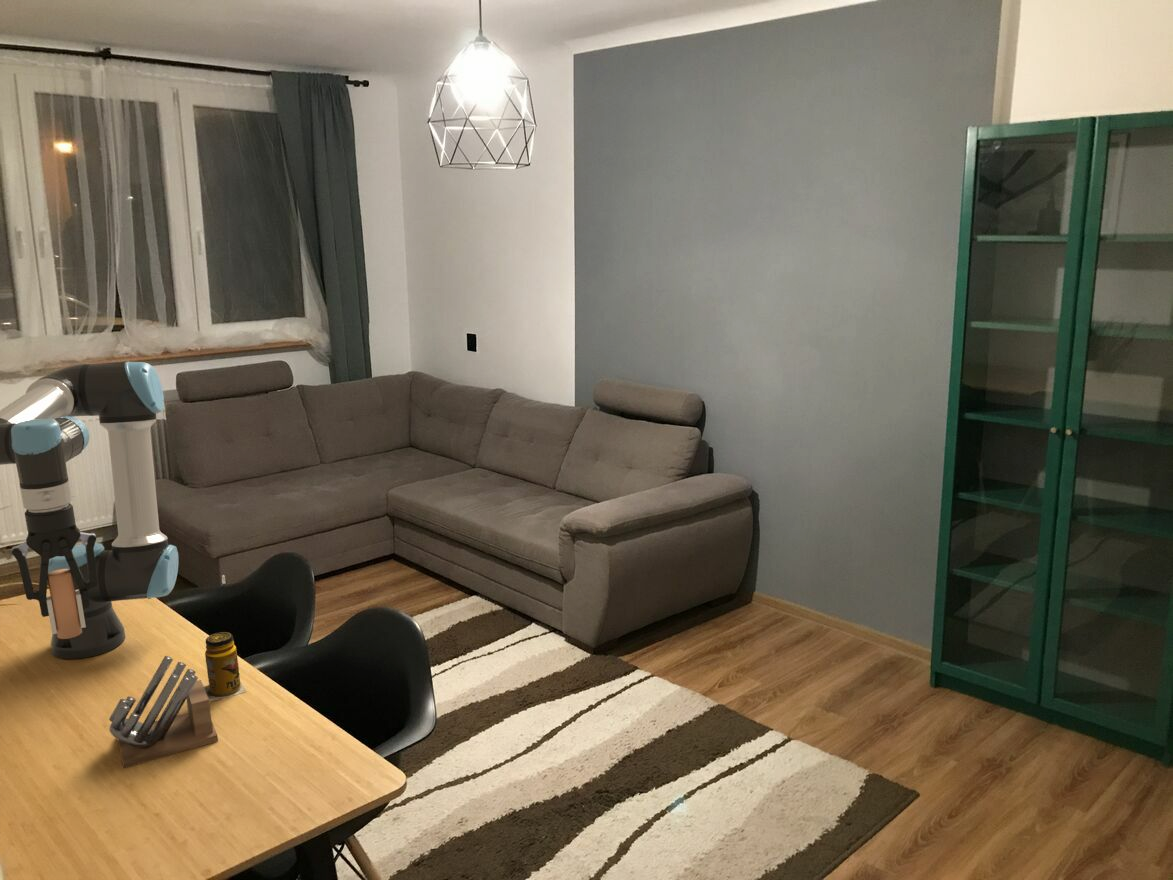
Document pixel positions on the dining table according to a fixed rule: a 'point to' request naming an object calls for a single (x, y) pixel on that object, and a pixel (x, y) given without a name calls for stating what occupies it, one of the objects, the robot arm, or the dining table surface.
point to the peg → (64, 603)
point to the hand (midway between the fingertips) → (68, 627)
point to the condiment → (222, 667)
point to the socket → (142, 732)
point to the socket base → (178, 731)
